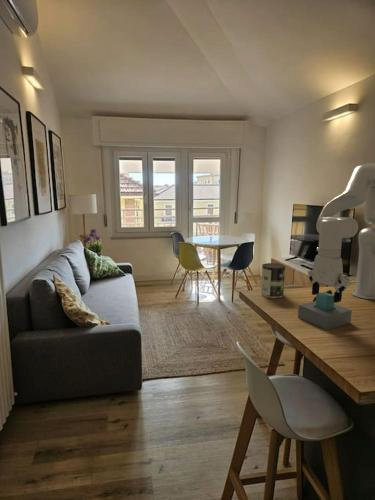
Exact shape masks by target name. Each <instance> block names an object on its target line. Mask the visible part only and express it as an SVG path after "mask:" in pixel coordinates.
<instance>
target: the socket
mask: <svg viewBox="0 0 375 500" xmlns="http://www.w3.org/2000/svg"><path fill="white" fill-rule="evenodd" d="M297 307H298V308H297V309H298V310H297V318H299V319H301V320H303V321H306V322H307V323H310V324H312V325H314V326H316V327H319V328H321V329H323V330H325V331H328V330H332V329H335V328H338V327H342V326H345V325H348V324H351V321H352V313H353V312H352V310H351V309H349V308H347V307H345V306H344V307H343V306H341V305H339V304H336V303H334V309H333V310H330V311H323V310H321V309H318V308H316V301H314V302H313V301H310V302H306V303H300V304H298V306H297Z"/></svg>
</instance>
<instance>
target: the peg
mask: <svg viewBox="0 0 375 500" xmlns="http://www.w3.org/2000/svg"><path fill="white" fill-rule="evenodd" d="M326 292H327V291H324V292H319V294H315V295H316V296H315V297H316V308H318V309H321V310H323V311H330V310H333V309H334V304H335V303H334V294H333V293H332V294H329V293H326Z"/></svg>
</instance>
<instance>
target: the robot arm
mask: <svg viewBox="0 0 375 500" xmlns="http://www.w3.org/2000/svg"><path fill="white" fill-rule="evenodd" d="M362 204H364V210H363V219H364V223H366V225H367V224H368V225H371V226H372V225H374V226H375V162H373V163H372V162H370V163H365V164H364V163H363V164H359V165H357V166H356V167H355V168H354V169H353V170H352V172H351V174H350V176H349V179H348V181H347V183H346V185H345V188H344V190H343V192H341V194H338V195H337V196H336V197H334V198H333V199H331V200H330V201H329V202H327V204H325V205H324V207H323V208H322V209H321V211H320V214H319V216H318V218H317V221H316V231H317V233H318V234H319V236H318V247H316V252H318V253H317V255H315V258H314V261H313V265H312V269H311V270H309V271H307V274H308V279H309V280H310V284H311V286H312V287H311V295H313V296H315V295H317V294H319V293H320V284H321V285H325V286H328V287H333V288H334V290H335V291H334V292H333V295H334V304H336V303H341V302H342V297H343V292H344V291H345V290H347V288H348V287H349V285H350V284H351V282H350V281H349V280H348V279H347V278H345V277H344V275H343V273H344V272H343V271H344V267H343V259H342V257H341V255H342V253H341V252H342V244H343V243H342V242H343V241H342V240H343V239H348V238H349V239H350V238H352V237H354V236H355V235H356V234H357V233H358V231H359V223H358V221H357V220H356V219H355V218H353V217H349V216H348V217H347V216H335V215H337V214H338V213H341V212H343V211H346V210H349V209H352V208H355V207H358V206H361V205H362ZM357 238H358V263H357V269H356V270H357V271H356V280H355V289H352V290H351V295H353V296H355V297H356V298H360V299H364V300H365V299H366V300H374V301H375V227H365V228H363V229H361V230H360V231H359V233H358V237H357Z"/></svg>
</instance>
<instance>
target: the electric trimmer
mask: <svg viewBox="0 0 375 500" xmlns="http://www.w3.org/2000/svg"><path fill="white" fill-rule="evenodd" d="M325 292H326V293H329V294H332V295H333V291H332V290H331V289H329V290H327V291H325ZM314 301H316V296H315V297H314V298H313V300H312V302H314Z"/></svg>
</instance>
